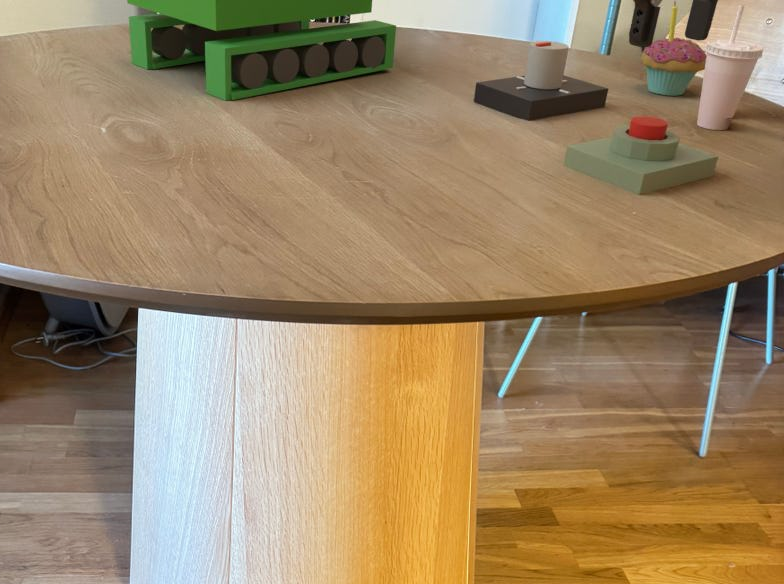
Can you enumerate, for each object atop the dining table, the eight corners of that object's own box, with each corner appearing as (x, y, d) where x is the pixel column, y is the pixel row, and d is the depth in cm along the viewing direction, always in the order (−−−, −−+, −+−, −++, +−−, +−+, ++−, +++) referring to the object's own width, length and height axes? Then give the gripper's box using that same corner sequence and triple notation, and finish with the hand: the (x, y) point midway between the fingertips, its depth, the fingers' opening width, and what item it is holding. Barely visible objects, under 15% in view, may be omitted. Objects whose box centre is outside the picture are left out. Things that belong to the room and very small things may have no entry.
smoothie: (704, 115, 113) (736, -1, 106) (750, 128, 109) (787, 8, 101) (675, 122, 110) (706, 3, 102) (721, 136, 106) (757, 12, 98)
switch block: (636, 149, 100) (644, 114, 98) (712, 176, 93) (723, 139, 91) (563, 165, 94) (570, 128, 92) (638, 195, 87) (648, 156, 85)
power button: (642, 130, 94) (646, 114, 93) (671, 140, 91) (675, 123, 90) (620, 135, 92) (624, 118, 91) (648, 144, 89) (652, 127, 89)
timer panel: (548, 89, 122) (551, 70, 121) (604, 107, 115) (609, 87, 114) (473, 101, 115) (476, 81, 114) (528, 121, 108) (532, 99, 107)
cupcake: (659, 100, 119) (682, 6, 113) (621, 85, 126) (641, -5, 119) (710, 97, 121) (736, 5, 115) (670, 82, 128) (692, -6, 122)
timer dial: (540, 78, 117) (547, 36, 114) (569, 86, 113) (577, 44, 111) (515, 83, 114) (522, 40, 111) (544, 91, 111) (552, 47, 108)
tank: (420, 67, 130) (432, -54, 122) (227, 101, 111) (225, -40, 103) (315, 37, 146) (319, -71, 138) (130, 62, 127) (122, -62, 118)
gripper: (699, -147, 72) (651, 57, 81) (798, -144, 79) (745, 44, 88) (626, -151, 78) (589, 41, 86) (725, -148, 84) (682, 30, 93)
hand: (668, 42), depth 87 cm, fingers open, 8 cm apart
